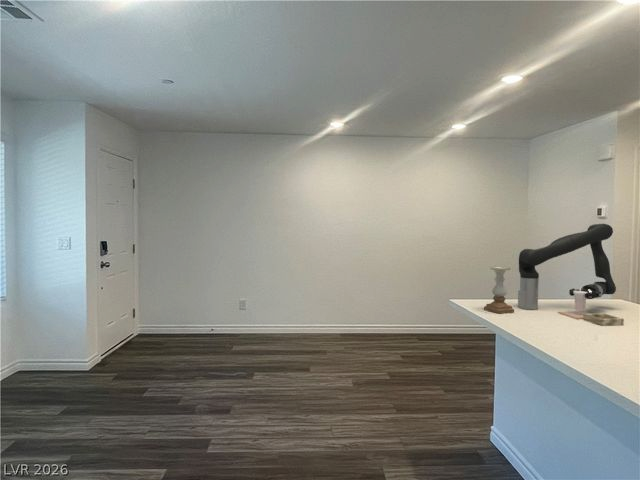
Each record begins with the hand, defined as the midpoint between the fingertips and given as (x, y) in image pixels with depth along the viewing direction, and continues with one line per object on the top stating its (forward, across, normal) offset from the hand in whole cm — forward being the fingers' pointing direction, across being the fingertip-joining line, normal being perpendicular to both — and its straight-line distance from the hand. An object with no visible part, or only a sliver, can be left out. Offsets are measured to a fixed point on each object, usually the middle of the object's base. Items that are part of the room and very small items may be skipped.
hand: (578, 294), depth 208 cm
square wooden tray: (+4, +12, +11) cm, 17 cm away
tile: (-2, 0, +11) cm, 11 cm away
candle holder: (+22, -30, +11) cm, 39 cm away
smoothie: (-2, 0, +9) cm, 9 cm away
